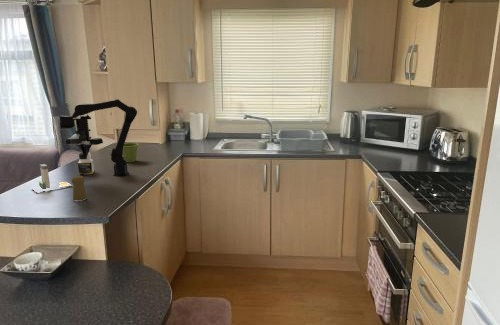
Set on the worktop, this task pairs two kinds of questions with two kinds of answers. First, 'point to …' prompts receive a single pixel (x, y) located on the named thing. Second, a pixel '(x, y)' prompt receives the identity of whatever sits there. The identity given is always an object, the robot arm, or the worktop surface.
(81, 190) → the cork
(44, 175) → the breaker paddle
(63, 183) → the base
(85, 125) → the robot arm
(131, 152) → the plant pot
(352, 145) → the worktop surface
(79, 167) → the medicine bottle
